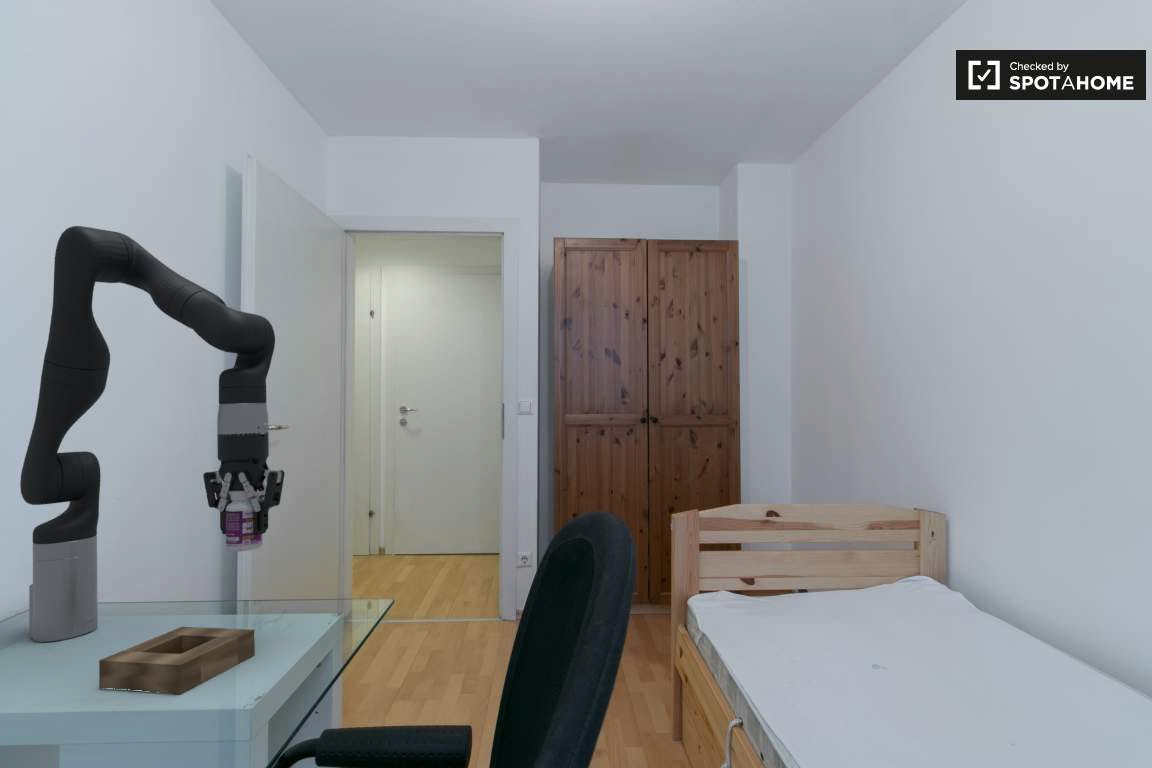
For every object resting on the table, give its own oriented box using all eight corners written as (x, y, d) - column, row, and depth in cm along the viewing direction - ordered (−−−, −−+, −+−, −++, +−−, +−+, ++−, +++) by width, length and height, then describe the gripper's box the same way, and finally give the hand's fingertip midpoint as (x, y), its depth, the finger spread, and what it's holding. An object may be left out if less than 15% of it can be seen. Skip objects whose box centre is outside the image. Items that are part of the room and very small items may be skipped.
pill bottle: (247, 552, 99) (246, 491, 100) (218, 552, 100) (217, 492, 101) (269, 545, 105) (269, 487, 105) (242, 545, 106) (241, 488, 106)
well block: (99, 688, 89) (99, 660, 89) (182, 651, 102) (181, 626, 102) (180, 694, 85) (179, 665, 86) (254, 655, 99) (254, 629, 99)
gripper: (188, 433, 101) (189, 538, 100) (265, 431, 98) (266, 539, 97) (223, 431, 108) (224, 529, 108) (296, 429, 105) (297, 529, 105)
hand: (244, 533), depth 103 cm, fingers closed on pill bottle, 5 cm apart
